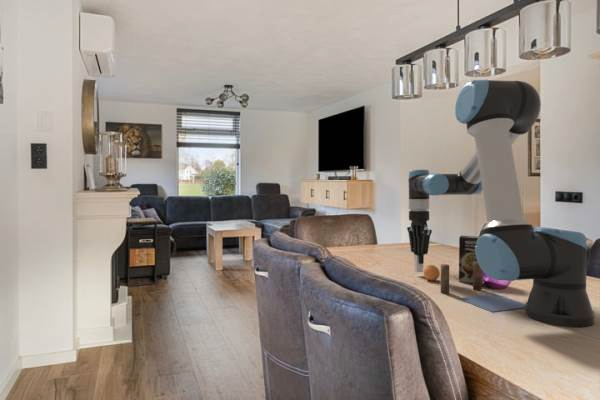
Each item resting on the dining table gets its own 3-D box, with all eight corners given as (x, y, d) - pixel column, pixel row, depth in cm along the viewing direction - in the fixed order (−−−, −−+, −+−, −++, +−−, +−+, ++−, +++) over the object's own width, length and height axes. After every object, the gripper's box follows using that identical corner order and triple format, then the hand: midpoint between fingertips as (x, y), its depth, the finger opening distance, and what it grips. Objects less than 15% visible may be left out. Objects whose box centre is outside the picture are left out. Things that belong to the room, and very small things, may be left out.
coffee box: (458, 281, 145) (458, 237, 145) (460, 278, 151) (460, 235, 150) (486, 284, 141) (486, 238, 140) (487, 280, 147) (487, 236, 146)
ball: (442, 281, 146) (442, 266, 146) (429, 282, 144) (429, 267, 144) (433, 278, 151) (433, 263, 151) (420, 279, 150) (420, 264, 149)
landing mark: (532, 307, 115) (532, 306, 115) (491, 312, 110) (491, 311, 110) (494, 294, 128) (494, 294, 128) (457, 298, 124) (457, 298, 124)
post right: (483, 290, 134) (483, 262, 133) (476, 290, 133) (476, 263, 132) (477, 288, 136) (477, 261, 136) (471, 288, 135) (471, 262, 135)
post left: (451, 293, 130) (451, 265, 129) (444, 294, 129) (444, 266, 129) (445, 291, 132) (445, 264, 132) (439, 292, 132) (439, 264, 131)
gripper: (438, 210, 149) (438, 274, 150) (417, 209, 162) (417, 267, 163) (420, 211, 147) (420, 276, 148) (401, 209, 160) (401, 269, 160)
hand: (419, 271), depth 155 cm, fingers closed
